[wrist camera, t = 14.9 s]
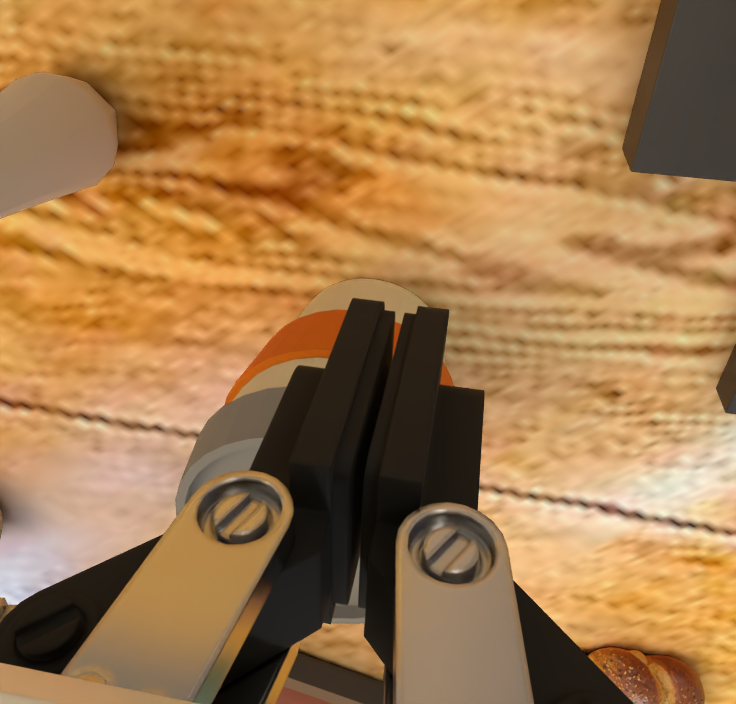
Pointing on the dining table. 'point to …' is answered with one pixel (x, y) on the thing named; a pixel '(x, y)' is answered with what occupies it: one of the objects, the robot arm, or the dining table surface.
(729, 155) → the fryer panel
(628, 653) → the braided bread roll
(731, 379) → the block
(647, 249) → the dining table surface
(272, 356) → the reusable coffee cup
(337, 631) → the dining table surface
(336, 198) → the dining table surface
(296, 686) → the toaster
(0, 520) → the ceramic mug
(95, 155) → the salt shaker
